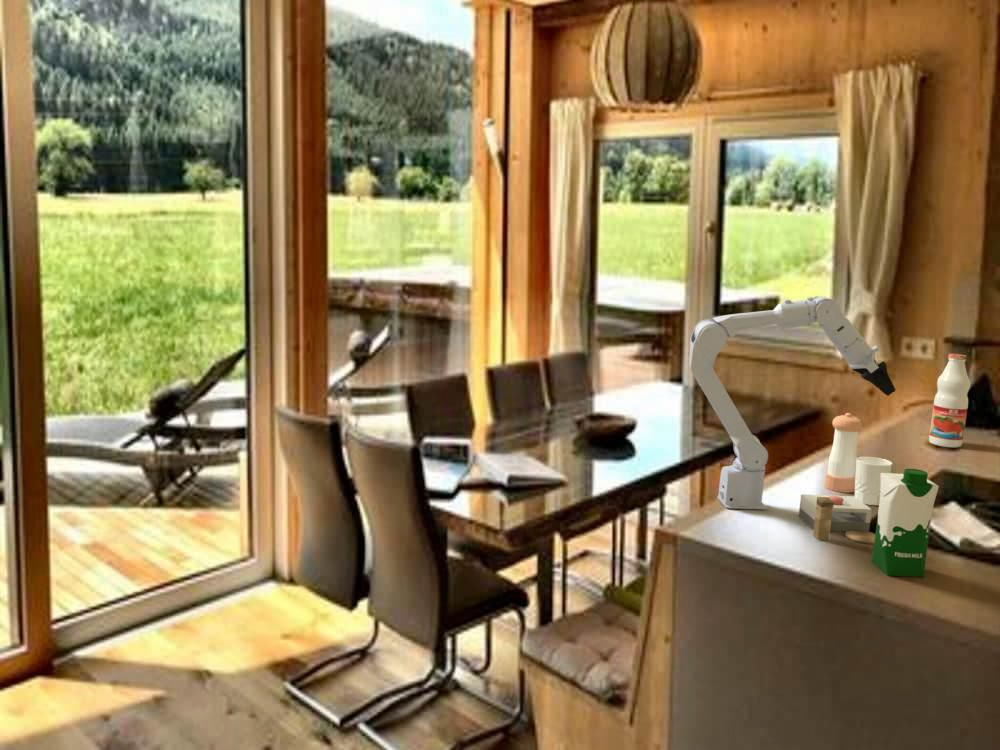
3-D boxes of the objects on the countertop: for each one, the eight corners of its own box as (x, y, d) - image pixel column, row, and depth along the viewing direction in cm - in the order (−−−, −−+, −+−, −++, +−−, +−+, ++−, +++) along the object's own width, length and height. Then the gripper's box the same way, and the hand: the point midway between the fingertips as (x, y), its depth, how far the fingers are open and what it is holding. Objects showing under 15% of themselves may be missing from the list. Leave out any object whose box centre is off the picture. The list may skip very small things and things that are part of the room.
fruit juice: (959, 442, 283) (972, 354, 278) (963, 449, 274) (977, 358, 269) (926, 438, 286) (938, 351, 281) (929, 445, 277) (942, 355, 272)
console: (814, 529, 194) (816, 507, 193) (798, 515, 203) (801, 494, 202) (868, 531, 194) (871, 509, 193) (851, 517, 203) (853, 496, 202)
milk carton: (884, 577, 169) (898, 474, 165) (864, 559, 178) (876, 460, 174) (931, 579, 169) (945, 476, 166) (908, 561, 178) (921, 462, 175)
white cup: (865, 507, 212) (870, 465, 210) (844, 496, 219) (849, 456, 217) (894, 505, 214) (899, 465, 212) (872, 495, 221) (877, 456, 220)
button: (830, 511, 196) (832, 500, 196) (825, 507, 199) (826, 495, 199) (844, 512, 197) (845, 500, 196) (838, 507, 199) (840, 496, 199)
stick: (817, 540, 188) (821, 500, 186) (812, 535, 190) (817, 496, 188) (829, 540, 188) (833, 501, 186) (824, 536, 190) (828, 497, 189)
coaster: (854, 543, 187) (854, 541, 187) (840, 531, 194) (840, 529, 193) (887, 544, 187) (887, 542, 187) (872, 532, 194) (872, 530, 194)
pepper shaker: (857, 493, 222) (867, 417, 219) (826, 490, 223) (835, 414, 220) (852, 485, 229) (861, 411, 226) (822, 482, 230) (831, 409, 227)
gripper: (872, 336, 193) (911, 385, 193) (856, 325, 207) (892, 371, 207) (844, 356, 194) (883, 405, 195) (830, 345, 208) (866, 390, 209)
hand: (886, 389), depth 201 cm, fingers open, 7 cm apart
